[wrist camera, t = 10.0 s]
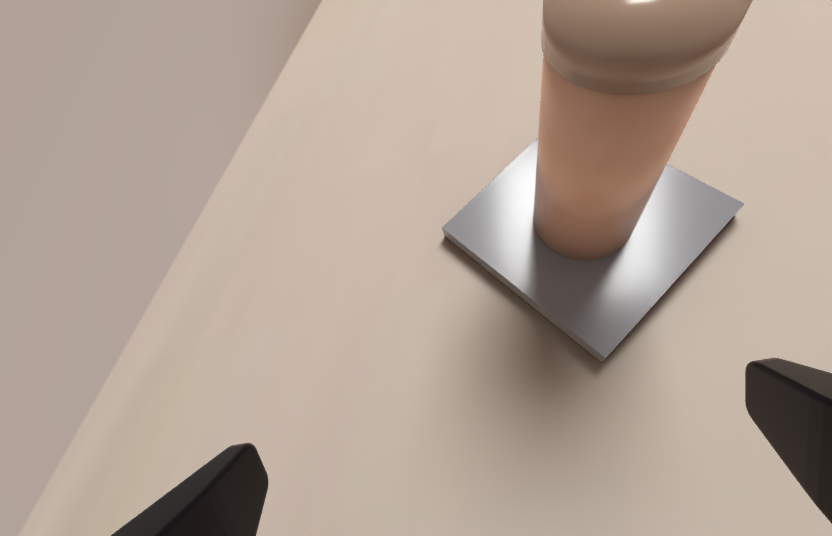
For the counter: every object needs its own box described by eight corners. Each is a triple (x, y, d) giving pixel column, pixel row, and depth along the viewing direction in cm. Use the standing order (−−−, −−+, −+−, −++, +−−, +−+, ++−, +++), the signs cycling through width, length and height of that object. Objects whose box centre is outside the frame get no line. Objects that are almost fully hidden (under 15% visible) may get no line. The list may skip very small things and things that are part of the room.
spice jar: (659, 233, 21) (810, -13, 10) (564, 278, 21) (613, 83, 10) (598, 162, 24) (667, -95, 13) (513, 202, 24) (510, -18, 13)
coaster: (735, 214, 22) (744, 203, 21) (601, 362, 20) (605, 358, 19) (563, 123, 27) (565, 111, 26) (444, 236, 25) (442, 227, 24)
